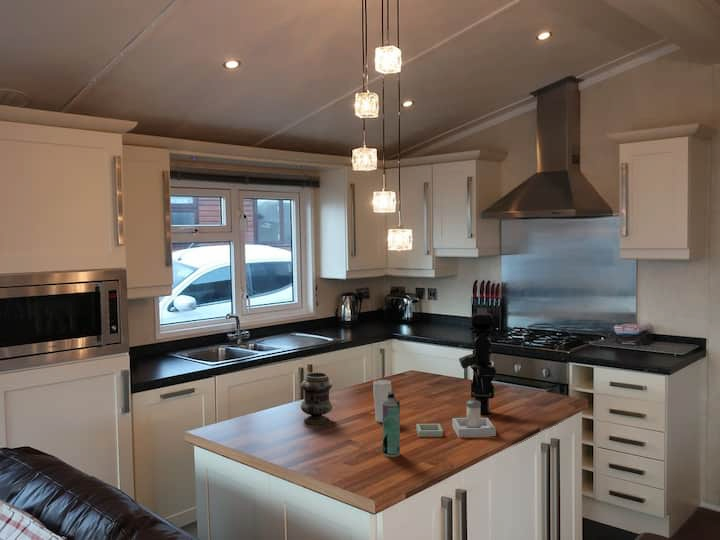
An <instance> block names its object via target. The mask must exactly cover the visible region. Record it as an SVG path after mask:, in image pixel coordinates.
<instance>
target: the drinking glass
mask: <svg viewBox="0 0 720 540" xmlns="http://www.w3.org/2000/svg"><path fill="white" fill-rule="evenodd" d="M372 386H373V388H372V391H373V403H374V414H375V415H374V416H375V418H374V419H375V421H376V422H377V423H380V424H381V423H382V424H383V400H384V399H386V398H387V396H388V393H390V392H392V382H391V380H386V379H379V380H374V381H373V385H372Z"/></svg>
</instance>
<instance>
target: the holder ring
mask: <svg viewBox="0 0 720 540" xmlns="http://www.w3.org/2000/svg"><path fill="white" fill-rule="evenodd" d="M415 426H416V427H415V430H416V432H417V435H418V438H432V437H433V438H438V437H439V438H440V437H442V436H443V437H444V430H443V428H442V425H441V424H440V423H416V424H415ZM443 437H442V438H443Z"/></svg>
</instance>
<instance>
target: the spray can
mask: <svg viewBox="0 0 720 540" xmlns="http://www.w3.org/2000/svg"><path fill="white" fill-rule="evenodd" d="M400 408H401V407H400V399H398V398H396V396H395V393H394V392H392V391H391V392H390V393H388V396H387V398H386V399H384V400H383V423H382V455H383V456H384V457H388V458H397V457H399V456H400V455H401V444H400V443H401V441H400V440H401V434H400V433H401V430H400V428H401V423H400V422H401V418H400V417H401V416H400V415H401V409H400Z"/></svg>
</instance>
